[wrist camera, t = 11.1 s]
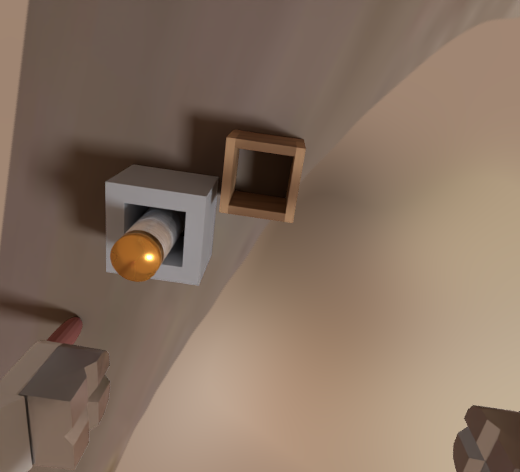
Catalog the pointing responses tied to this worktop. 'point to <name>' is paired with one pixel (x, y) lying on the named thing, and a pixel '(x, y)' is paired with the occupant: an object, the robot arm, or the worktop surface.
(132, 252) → the pin
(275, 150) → the mount
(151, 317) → the worktop surface
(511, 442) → the robot arm
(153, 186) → the socket
